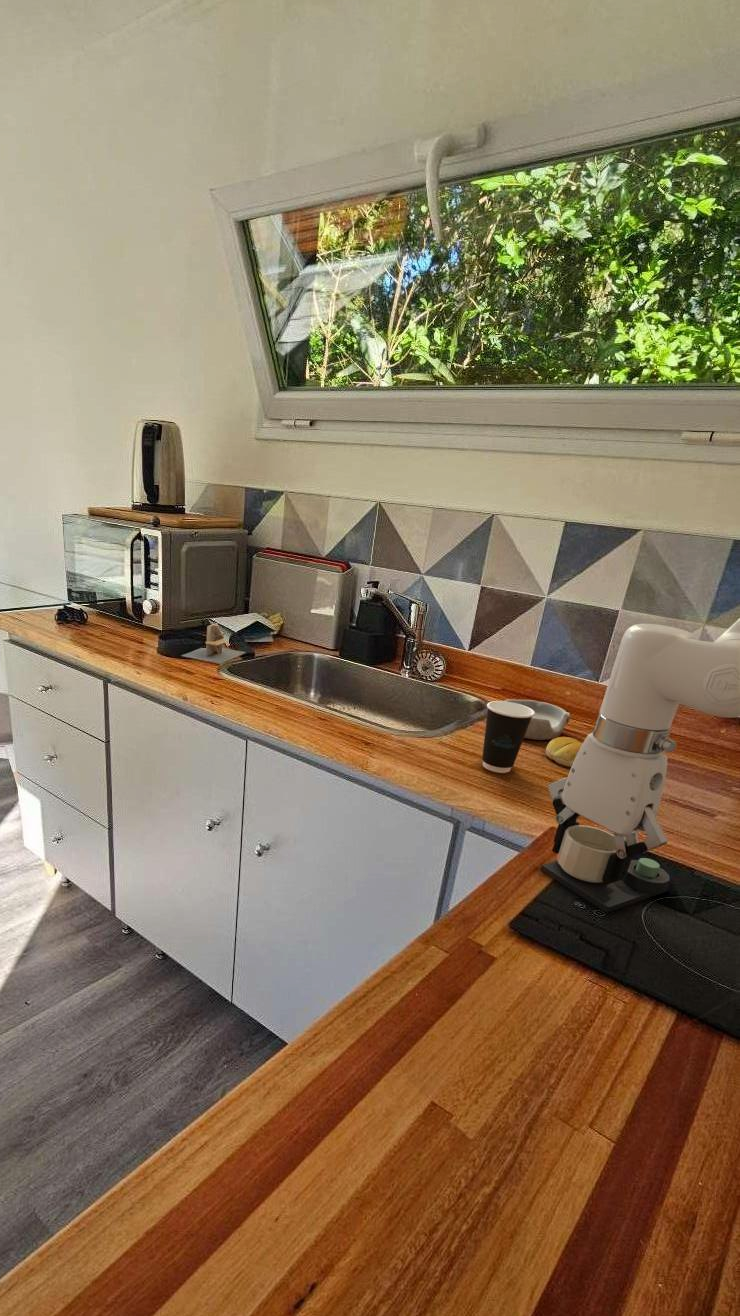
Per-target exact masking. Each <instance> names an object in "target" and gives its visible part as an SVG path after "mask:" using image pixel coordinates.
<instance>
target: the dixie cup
mask: <svg viewBox="0 0 740 1316" xmlns="http://www.w3.org/2000/svg"><path fill="white" fill-rule="evenodd" d="M486 707H487V712H486V713H487V714H486V723H485V731H484V740H483V747H482V748H483V749H482V758H481V760H482V766H483V768H484V769H486V770H488V771H491V772H494V773H500V774H506V773H508V772H509V773H510V772H511V769H512V767H514V766H515V763H516V759H517V757H518V756H519V755H518V754H519V752H520V749H521V747H522V745H523V741H524V739H525V738H524V736H525V734H526V731H527V729H528V726H529V723H530V721H531V718H532V716H534V715H535V712H534V711H533V710H532V709H531V708H529V707H527V706H524V705H521V704H517V703H513V702H506V701H505V700H493V701H489V702H488V703H487V704H486Z"/></svg>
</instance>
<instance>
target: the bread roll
mask: <svg viewBox="0 0 740 1316" xmlns="http://www.w3.org/2000/svg"><path fill="white" fill-rule="evenodd" d="M582 744H583V742H580V741H579V740H578V739H576V738H573V737H570V736H558V737H556V738H553V739H551V740H550V741H549V742H548V744H547V745H546V746H545V755H546V757H548V758H549V759H550V760H552V761H554V762H556V764H559V765H561V766H564V767H567V768H571V767H572V765H573V762H574V760H575V758H576V756H577V754H578V752H579V750H580V748H581V746H582Z"/></svg>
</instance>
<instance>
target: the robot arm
mask: <svg viewBox="0 0 740 1316" xmlns="http://www.w3.org/2000/svg"><path fill="white" fill-rule="evenodd" d="M622 635H623V636H622V638H621V640H620V644H619V647H618V651H617V654H616V657H615V660H614V664H613V667H612V669H611V673H610V677H609V680H608V683H607V686H606V691H605V693H604V695H603V696H604V697H603V699H602V703H601V706H600V708H599V712H598V716H597V719H596V722H595V725H594V728H593V732H591V733H589V734H587V736H586V737H585V738H584V741H583V742H582V743H583V744H582V746H581V748H580V750H579V752H578V754H577V756H576V758H575V760H574V762H573V765H572V767H570V770H569V773H568V775H567V777H564V778H561V779H558V780H556V781H553V782H550V783H548V785H547V789H548V791H549V795H550V797H551V799H552V802H551V803H552V807H553V810H554V811H555V814H556V816H555V821H556V823H557V824H558V825H557V829H556V832H555V835H554V838H553V846H552V849H551V852H552V853H553V854H556V855H558V853H559V850H560V847H561V844H562V840H563V837H564V834H565V831H566V829H567V828H568V827H570V826H574V825H580V822H579V821H577V820H578V819H579V818H580V817H583V818H585V819H586V820H588V821H590V822H592V823H594V824H595V825H598V826H600V827H602V828H604V829H605V830H606V831H608V832H610V833H612V834H613V835H614V838H615V846H616V853H614V854H611V855H610V858H609V860H608V863H607V866H606V869H605V872H604V875H603V878H602V881H603V883H605V884H611V883H614V882H617V881H620V880H622V879H623V878H624V877H625V876H626V874H627V871H628V868H629V865H630V863H631V860H633V857H634V856H636V855H640V854H643V853H646V852H649V851H652V850H654V849H657V848H660V847H662V846H664V845H666V844H667V843H668V838H667V835H666V834H665V832H664V830H663V828H662V826H661V825H660V823H659V821H658V819H657V815H658V812H659V807H660V804H661V800H662V796H663V792H664V788H665V783H666V778H667V770H668V769H667V768H668V760H669V758H668V755H666V754H664V753H663V752H668V753H672V752H673V751H674V750H675V749H676V747H677V741H676V740H673V739H671V737H670V734H671V732H672V730H671V726H672V724H673V722H674V718H675V716H676V713H677V710H678V708H679V705H680V704H681V705H684V706H686V707H689V708H691V709H694V710H697V711H699V712H702V713H705V714H707V715H711V716H714V717H718V718H728V719H729V718H739V717H740V617H739V618H738V619H737V620H736V621H735V622H734V623H733V624H732V625H730V626H729V627H728V628H727V629H726V630H725V631H724V632H723V633H722V634H721V635H719V636H718V637H717V639H715V640H714V641H706V640H699V639H698V638H697V636H696V635H695V634H694V633H691V632H690V631H687V630H685V629H681V628H677V627H674V626H669V625H664V624H656V623H637V624H636V623H635V624H634V625H632V626H629V627H628V628H627V629H626V631H624V634H622ZM638 831H640V832H645V834H646V839H644V840H641V841H640V840H639V834H638Z"/></svg>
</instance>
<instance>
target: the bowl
mask: <svg viewBox="0 0 740 1316" xmlns="http://www.w3.org/2000/svg"><path fill="white" fill-rule="evenodd" d="M614 853H616V846H615V838H614V833H612V832H610V831H608V830H604V829H602V828H599V827H595V826H589V825H584V824H583V825H582V824H579V825H574V826H570V827H568V828H567V829H566V831H565V834H564V837H563V840H562V844H561V847H560V850H559V853H557V857H556V861H557V860H558V863H559V864H560V866H561V867H562V869H563V870H564V871H565V872H567V873H568V874H569V875H571V876H573V877H575V878H578V879H580V880H583V881H587V882H595V883H599V882H603V881H602V878H603V875H604V872H605V869H606V866H607V863H608V860H609V858H610V855H611V854H614Z"/></svg>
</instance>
